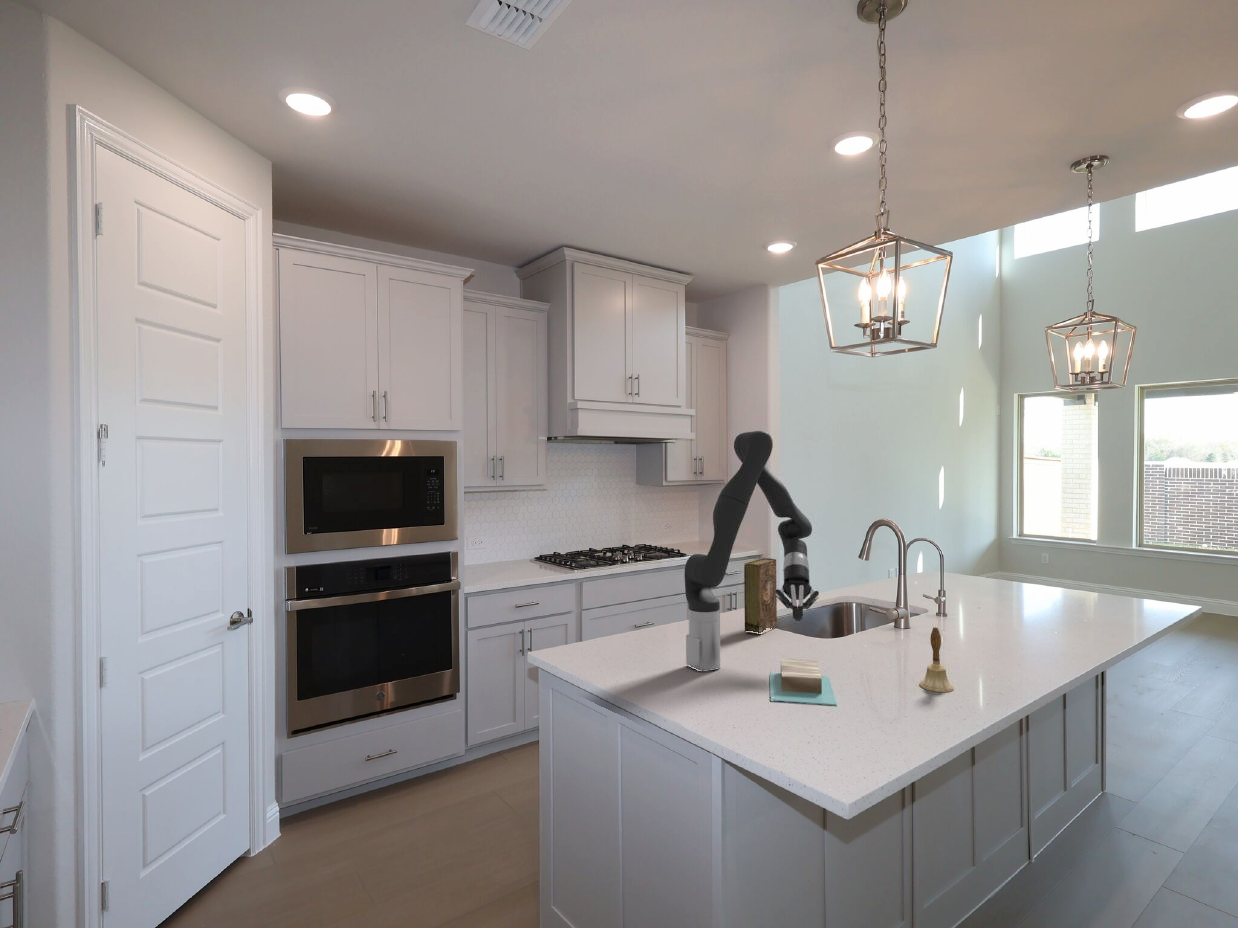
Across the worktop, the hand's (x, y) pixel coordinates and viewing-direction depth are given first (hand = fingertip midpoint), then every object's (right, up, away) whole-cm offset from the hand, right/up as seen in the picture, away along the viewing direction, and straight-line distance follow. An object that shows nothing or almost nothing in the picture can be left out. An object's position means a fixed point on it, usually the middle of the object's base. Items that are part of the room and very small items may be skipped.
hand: (798, 619), depth 188 cm
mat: (-3, -15, -14) cm, 21 cm away
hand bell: (+33, -15, -14) cm, 39 cm away
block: (0, -13, -2) cm, 13 cm away
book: (0, -16, +48) cm, 51 cm away
